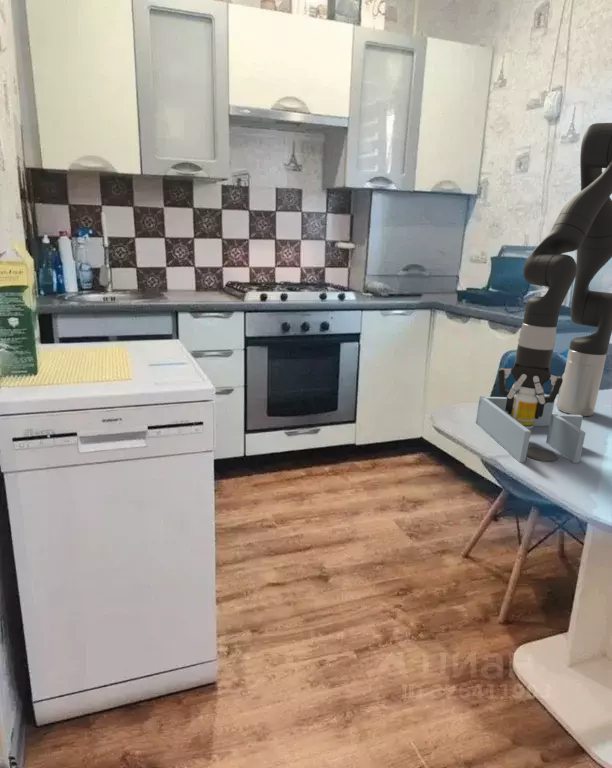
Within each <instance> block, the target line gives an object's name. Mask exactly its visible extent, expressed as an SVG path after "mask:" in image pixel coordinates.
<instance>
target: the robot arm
mask: <svg viewBox="0 0 612 768" xmlns="http://www.w3.org/2000/svg"><path fill="white" fill-rule="evenodd" d="M579 159H580V165H579V166H580V191H579V192H578V193H576V194H575V195H574V196H573V197H572V198H571V199H570V200H568V202H567V203H566V204H565V205H564V206H563V208H562V209H561V210H560V212H559V214H558V217H557V218H556V220H555V222H554V224H553V225H552V228H551V230H550V231H549V233H548V234H547V235H545V237H544V238H543V239H542V240H541V241H540V243H539V244H537V246H536V247H535V248H534V249H533V251H532V252H531V253H530V254H529V255H528V257H527V259H526V261H525V263H524V265H523V269H522V273H523V275H522V276H523V277H524V281H526V283H528V284H530V285H532V286H541V287H546V288H547V287H548V290H547V292H546V293H545V294H544V295H543V296H533V297H530V298H528V300H526V304H525V309H524V313H523V318H522V320H523V321H522V325H521V328H520V332H519V336H518V339H517V347H516V352H515V358H514V359H515V360H514V364H513V366H512V367H511V368H505V367H500V368H499V370H498V386H499V394H500V395H501V396H503V397H504V396H505V397H507V402H506V408H505V410H506V411H508V414H511V410H512V405H513V399H514V395H515V394H516V393H518V392H519V390H518V389H519V388H520V386H522V387H528V388H534V389H536V392H537V393H536V396H537V397H538V399H539V401H538V406H537V411H536V416H535V419H539V417H542V415H543V410H544V405H545V404H546V403H553V402H554V403H555V401H554V400H556V398H557V401H556V406H557V409H558V410H559V411H561V412H563V413H565V414H568V415H581V416H583V417H590V416H593V415H594V412H595V408H596V405H597V400H598V396H599V390H600V386H601V381H602V379H603V378H602V377H603V373H604V370H605V369H604V368H605V363H606V358H607V356H608V355H607V354H608V348H609V345H610V341H611V337H612V336H611V335H612V292H606V291H605V292H603V291H596V290H595V291H594V290H590V288H589V285H590V283H591V282H592V281H593V279H594V277H595V276H596V275H597V273H599V271H600V270H601V269H602V268H603V267H604V266H605V265H607V264H608V262H609V261H610V260H611V259H612V198H611V195H612V122H598V123H597V122H596V123H592V124H591V125H589V126H588V127H587V128H586V130H585V132H584V134H583V135H582V140H581V146H580V157H579ZM603 169H604V171H603ZM571 252H576V260H575V259H574V258H573V256H571V255H569V254H567V253H571ZM565 253H566V254H565ZM573 283H574V284H573ZM571 286H573V291H572V297H571V303H570V319H571V322H572V323H573V324H576V325H580V326H587V327H595V328H597V330H596V331H595V332H594V333H592V334H589V335H585V336H578V337H574V338H572V339H571V340H570V343H569V346H568V347H569V348H568V352H567V353H568V354H567V356H566V357H567V358H566V364H565V368H564V373H563V374H562V375H561V376H560V375H558V376H557V375H553V374H552V373H551V364H552V358H553V355H554V354H553V353H554V350H555V345H556V340H557V337H556V336H557V327H558V323H559V322H558V321H559V316H560V309H561V308H562V306H563V303H564V301H565V298H566V296H567V294H568V292H569V291H570V288H571ZM510 374H511V375H512V377H513V378H514V381H515V382H514V383H513V384H512V387H511V388H510V389H507V385H506V383H507V382H506V379H507V378H509V376H510ZM549 380H550V381H551V383H550V384H551V385H552V387H551V391H550V393H549V395H547V396H545V392H544V388H543V385H544V384H545V383H547V382H548V381H549Z"/></svg>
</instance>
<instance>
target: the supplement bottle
mask: <svg viewBox="0 0 612 768" xmlns="http://www.w3.org/2000/svg"><path fill="white" fill-rule="evenodd" d="M513 397H514V399H513V405H512V410H511V415H510V416H511V417H512V418H513V419H515V420H516V421H517V422H519V423H520V424H521V425H523V426H524V427H525V428H527V429H528V430H530V429H533V428H534V427H535V426H534V421H535V416H536V411H537V406H538V401H539V399H538V395H537V392H536V389H534V388H528V387H522V386H520V388H519V389H518V392H516V393H515V395H514V396H513Z"/></svg>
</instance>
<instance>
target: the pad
mask: <svg viewBox="0 0 612 768" xmlns="http://www.w3.org/2000/svg"><path fill="white" fill-rule="evenodd" d="M526 457H527V458H530V459H533V460H535V461H540V462H548V463H549V462H551V463H552V462H556V461H557V460H558V454H556V452H554V451H552V450H549V449H547V448H543V447H537V446H528V449H527V455H526Z"/></svg>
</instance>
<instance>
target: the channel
mask: <svg viewBox="0 0 612 768" xmlns="http://www.w3.org/2000/svg"><path fill="white" fill-rule="evenodd" d="M555 400H556V399H555ZM555 400H554V402H553V403H546V404H545V405H544V410H543V415H542V417H539V419H535V421H534V426H533V427H548V431H547V435H546V441H545V442H546V444H548V445H549V446H550V447H552V448H553V449H554V450H556V451H558V452H559V454H561V455H562V456H564V457H565V458H566V459H568V460H569V461H571V462H572V463H573V464H580V460H581V455H582V451H583V446H584V442H585V438H586V431H584V430H582V429H581V428H582V425H583V420H584V419H583V418H584V416H581V415H573V414H567V413H565V414H561V413H560V414H559V413H556V414H555V413H553V411H554V407H555ZM506 402H507V397H506V396H505V397H504V396H479V399H478V405H477V413H476V418H475V424H476V425H478V426H479V427H480V428H481V429H482V430H483V431H484V432H485V433H487V434H488V435H489V436H490V437H491V439H493V440H494V441H496V442H497V443H498V444H499V445H500V446H501V447H502V448H503V449H505V451H507V452H508V453H509V454H510V455H511V456H512V457H513V458H515V459H516V460H517V462H519V463H526V459H527V456H526V455H527V449H528V447H529V443H530V438H531V432H532V431H531V430H530V429H527V428H525V427H524V426H523V425H521V424H520V423H519V422H517V421H516V420H515V419H513V418H512V417H511V416H510V415H511V414H508V411H506V410H505V408H506Z"/></svg>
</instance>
